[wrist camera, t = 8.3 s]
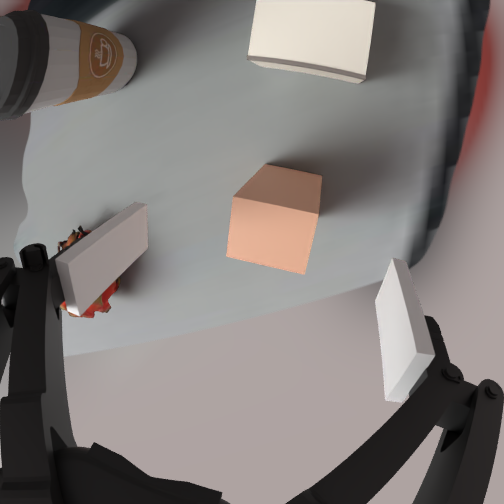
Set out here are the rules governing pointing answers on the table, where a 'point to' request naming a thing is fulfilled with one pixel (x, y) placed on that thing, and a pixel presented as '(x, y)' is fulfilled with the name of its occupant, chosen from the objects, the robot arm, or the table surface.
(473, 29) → the table surface
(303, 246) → the salmon orange rectangular block
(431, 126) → the table surface
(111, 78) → the coffee cup
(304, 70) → the cream white block
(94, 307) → the dragon fruit
